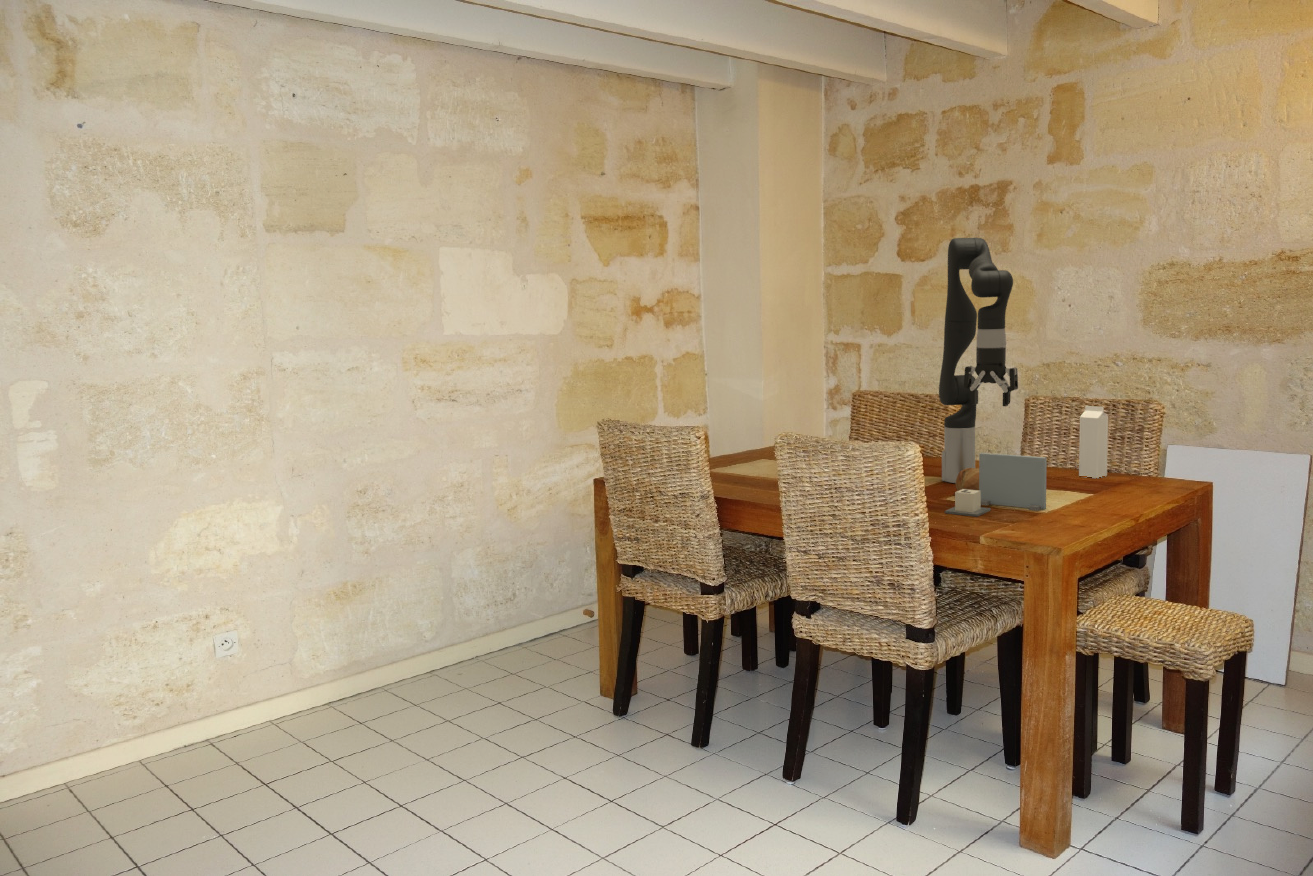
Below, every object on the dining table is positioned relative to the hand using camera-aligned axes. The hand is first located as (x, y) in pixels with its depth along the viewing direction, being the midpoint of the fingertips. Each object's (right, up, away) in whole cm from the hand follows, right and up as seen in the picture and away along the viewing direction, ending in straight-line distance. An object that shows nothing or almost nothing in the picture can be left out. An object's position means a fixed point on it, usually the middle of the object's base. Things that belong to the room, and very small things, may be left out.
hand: (990, 405), depth 270 cm
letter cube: (-7, -28, -2) cm, 29 cm away
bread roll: (+2, -26, +20) cm, 32 cm away
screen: (+7, -28, +3) cm, 29 cm away
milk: (+45, -21, +40) cm, 64 cm away
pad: (-7, -29, -2) cm, 30 cm away
